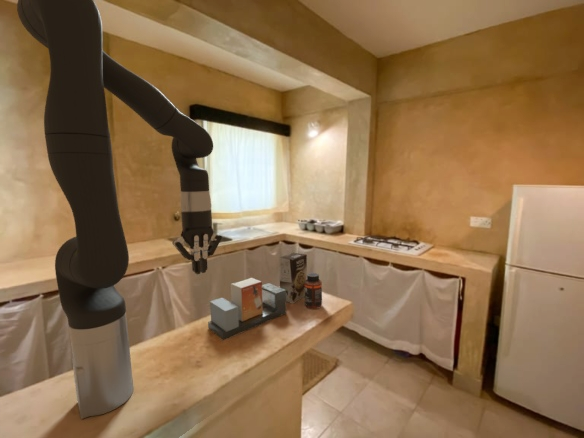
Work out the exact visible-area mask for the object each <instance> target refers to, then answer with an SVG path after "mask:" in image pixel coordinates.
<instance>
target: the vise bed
mask: <svg viewBox="0 0 584 438" xmlns="http://www.w3.org/2000/svg"><path fill="white" fill-rule="evenodd" d="M262 308H263V313H262V314H260V315H257V316H254V317H252V318H249V319H247V320H245V321H243V322H242V321H240V320H239V319H238V320H239V327H237V328H234V329H232V330H229V331H227V332H226V331H225V330H223V329H222V328H221V327H219V326H218V325H217V324H215V323H214V322H213V321H211V320H209V321H208V322H207V323H208V324H207V325H208V329H209V330H210V331H211V332H213V333H214V334H215V336H218V337H219V338H220V339H221V340H222V341H225V340H227V339H229V338H232V337H234V336H237V335H239V334H241V333H244V332H246V331H248V330H250V329H253V328H255V327H258V326H260V325H263V324H264V323H267V322H269V321H271V320H273V319H276V318H279V317H281V316H283V315H285V314H287V301H286V290H285V289H282V288H280V286H277V285H275V284H272V283H269V282H268V283H265V284H262Z"/></svg>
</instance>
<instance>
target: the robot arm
mask: <svg viewBox="0 0 584 438" xmlns="http://www.w3.org/2000/svg"><path fill="white" fill-rule="evenodd" d="M16 11H17V15H18V18H19V20H20V22H21V24H22V25H23V27H24V28H25V30H26V31H27V33H29V34H30V36H31V37H32V38H34V39H35V40H36V41H37V42H39V43H40V44H41V45H42V46H43V47H46V48H47V49H48V54H49V61H50V63H49V65H50V73H49V74H50V75H49V83H48V87H47V88H48V89H47V93H46V100H45V105H44V112H43V113H44V114H43V115H44V116H43V130H44V139H45V146H46V150H47V152H46V153H47V158H48V162H49V165H50V169H51V171H52V173H53V176H54V177H55V180H56V182H57V184H58V186H59V187H60V189H61V191H62V193H63V195H64V196H65V198H66V201H67V202H68V205H69V206H70V210H71V212H72V216H73V219H74V221H73V222H74V227H75V235H76V236H73V237H72V238H69V239H68V240H66V241H65V242H64V243H63V244H62V245H61V246H60V247H59V248H58V251H57V253H56V254H55V255H56V256H55V260H54V272H55V278H56V284H57V290H58V294H59V301H60V306H61V308H62V310H63V313H64V314H65V316H66V319H67V323H68V331H69V338H70V344H71V353H72V359H71V362H72V368H73V377H74V384H75V393H76V400H77V401H78V402H77V406H78V411H79V416H80V420H83V419H86V418H88V417H94V416H95V417H96V416H99V415H103V414H107V413H109V412H111V411H113V410H116V409H117V408H120V406H122V405H123V404H124V403H126V402H127V401H128V400H129V399H130V398H131V396H132V395H133V392H134V378H133V370H132V369H133V368H132V361H131V359H132V358H131V349H130V341H129V328H128V319H127V310H126V308H127V307H126V300H125V298H124V297H123V296H122V295H121V294H120V293H119V292H118V290H117V289H116V287H115V285H117V284H118V283H119V282H121V280H122V279H123V278H124V276H125V275H126V273H127V271H128V268H129V261H130V259H129V258H130V257H129V254H130V253H129V250H128V249H129V248H128V244H127V240H126V236H125V232H124V227H123V224H122V219H121V215H120V209H119V203H118V196H117V195H118V194H117V188H116V180H115V179H116V178H115V171H114V170H115V169H114V158H113V149H112V141H111V134H110V127H109V120H108V109H107V100H106V92H105V89H106V90H107V91H108V92H110V93H111V94H112V95H114V96H115V97H116V98H117V99H119V100H120V101H121V102H122V103H124V104H125V105H126V106H127V107H129V109H131V110H132V111H134V112H135V114H137V115H138V116H139V117H140V118H141V119H142V120H143V121H145V122H146V123H147V124H148V126H150V127H151V128H153V130H155V131H156V132H158V133H159V134H160V135H162V136H167V137H172V141H171V153H172V156H173V159H174V162H175V166H176V168H177V172H178V174H179V183H180V186H179V187H180V203H179V204H180V214H181V228H182V230H181V233H180V237H179V238H178V239H176V240H173V241H172V243H171V244H172V245H173V247H175V249H176V250H177V251H178V252H179V253H180V254H181V256H182V257H183V258H184V259H186V260H188V261H191V269H192V272H194V274H196V275H200V274H201V273H202V274H205V273H206V272H207V270H208V258H209V257H211V256H213V255H214V254H215V252H216V250H217V248H218V246H219V244H220V242H221V240H222V238H223V237H222V235H219V234H217V233H215V232H214V229H213V227H212V226H213V220H212V219H213V218H212V214H213V213H212V201H211V195H210V193H211V192H210V181H209V180H210V179H209V173H208V171H207V170H206V169H205V168H202V167H200V166H199V164H198V161H197V159H202V158H206V157H208V156H210V155H211V154H212V153H213V150H214V143H213V139H212V137H211V135H210V133H209V132H208V131H207V129H205V128H204V127H203V126H201V125H200V124H199V123H198V122H196V121H194V119H192V118H190V117H189V116H187V115H186V114H184V113H183V112H181V111H180V110H179V109H178V108H177V107H176V106H175V105H174V104H173V103H172V102H171V101H170V99H168V98H167V97H166V96H165V94H163V92H161V90H160V89H158V88H157V87H156V86H154V84H152V83H150V82H149V81H147V80H146V79H144V78H142V76H140V75H138V74H136V73H134V72H133V71H131V70H130V69H128V68H126V67H124V65H122V64H120V63H119V62H117V61H116V60H115V59H113V58H112V57H111V56H110V55H108V53H106V52H105V51H104V50H103V22H102V17H101V14H100V11H99V8H98V5H97V4H96V2H95V1H94V0H18V1H17V3H16ZM209 242H210V243H209ZM185 243H186V244H187V245H188V248H189V249H188V250H189V251H188V250H187V248H186V247H185Z"/></svg>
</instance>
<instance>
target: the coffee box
mask: <svg viewBox="0 0 584 438" xmlns="http://www.w3.org/2000/svg"><path fill="white" fill-rule="evenodd" d="M307 257H308V256H307V254H306V253H299V252H298V253H297V252H293V253H288V254H286V255H283V256H280V257H279V287H280V288H282V289H285V290H286V303H290V304H295V303H297V302H298V301H300V300H301V299H303V298H305V281H306V280H307V274H308V271H307V270H308V269H307V268H308V264H307V260H308V258H307Z"/></svg>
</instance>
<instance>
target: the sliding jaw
mask: <svg viewBox="0 0 584 438" xmlns="http://www.w3.org/2000/svg"><path fill="white" fill-rule="evenodd" d="M209 303H210V306H209V307H210V308H209V309H210V321H213V322H214V323H215V324H217V325H218V326H219V327H221V328H222V329H223V330H225V331H226V332H227V331H229V330H232V329H234V328H237V327H239V320H238V306H236V305H234V304H232V301H229V300H227V299H226V298H224V297H219V298H216V299H213V300H209Z"/></svg>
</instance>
